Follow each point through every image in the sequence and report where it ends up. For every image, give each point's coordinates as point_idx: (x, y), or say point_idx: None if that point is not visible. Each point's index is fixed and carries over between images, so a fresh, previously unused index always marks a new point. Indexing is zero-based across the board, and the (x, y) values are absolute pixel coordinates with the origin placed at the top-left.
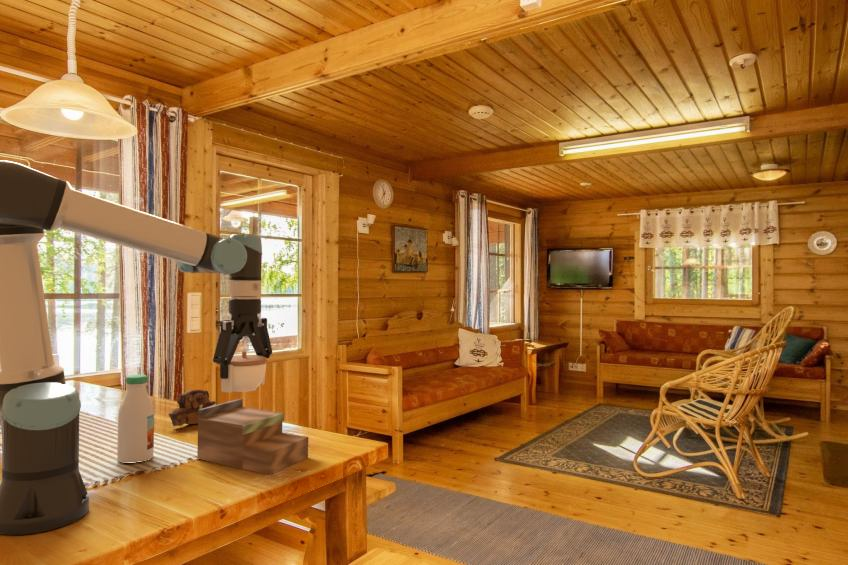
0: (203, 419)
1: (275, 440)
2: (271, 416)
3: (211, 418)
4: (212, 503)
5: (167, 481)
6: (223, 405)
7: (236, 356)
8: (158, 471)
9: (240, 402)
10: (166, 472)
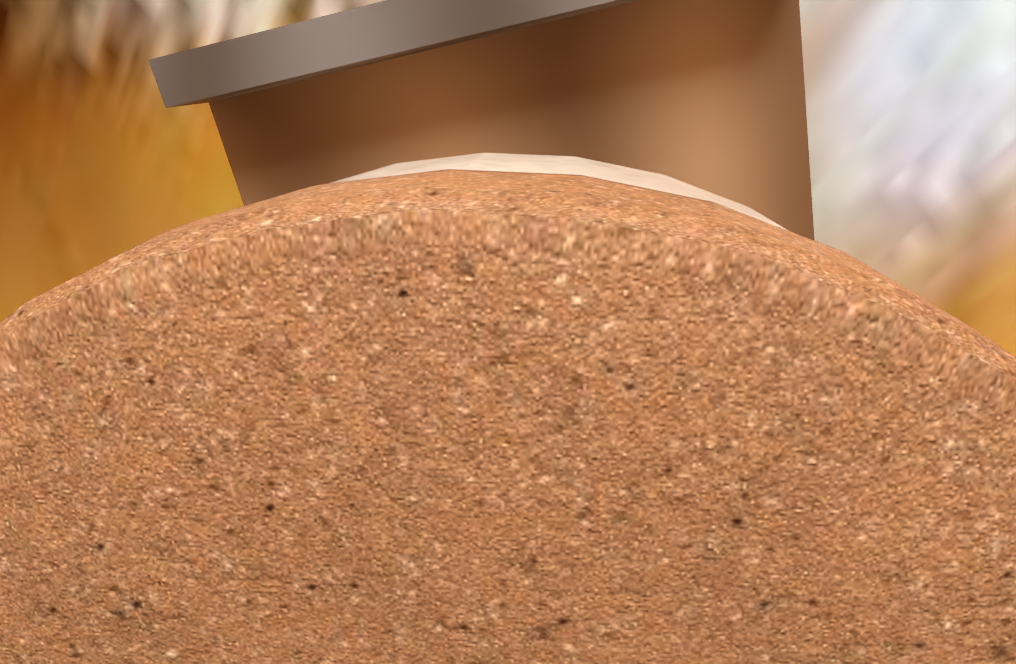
0: (223, 131)
1: None
2: None
3: (279, 179)
4: None
5: (67, 267)
6: (485, 31)
7: (431, 616)
8: (72, 86)
9: None
10: (102, 138)
